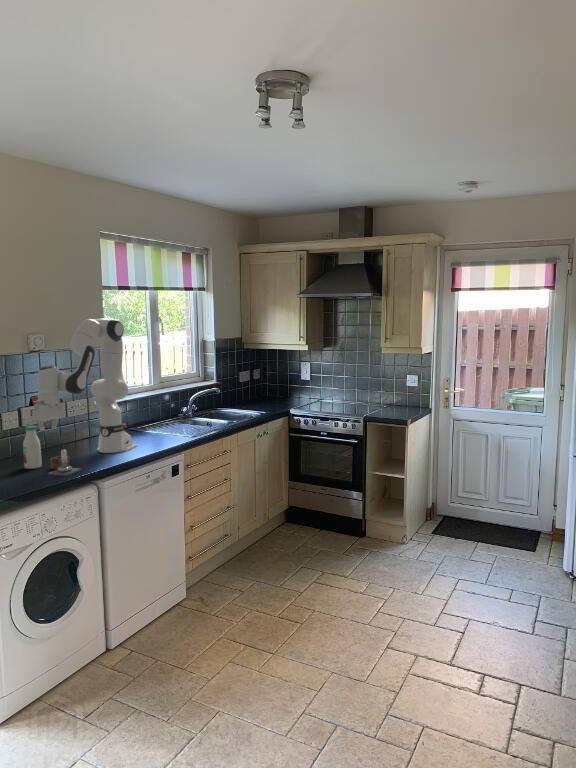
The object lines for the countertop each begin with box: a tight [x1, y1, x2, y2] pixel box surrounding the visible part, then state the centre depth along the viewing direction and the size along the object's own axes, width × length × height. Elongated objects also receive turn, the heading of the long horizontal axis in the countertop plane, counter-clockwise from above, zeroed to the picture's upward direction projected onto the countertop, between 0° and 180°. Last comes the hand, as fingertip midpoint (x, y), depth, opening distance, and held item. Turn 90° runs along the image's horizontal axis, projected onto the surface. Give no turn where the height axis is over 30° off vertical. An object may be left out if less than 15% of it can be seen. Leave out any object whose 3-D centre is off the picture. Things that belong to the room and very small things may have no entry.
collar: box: [49, 455, 71, 470], centre depth 273 cm, size 6×6×5 cm
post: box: [48, 449, 82, 477], centre depth 263 cm, size 10×10×10 cm
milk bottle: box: [22, 425, 43, 470], centre depth 275 cm, size 8×8×20 cm
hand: (48, 429), depth 269 cm, fingers open, 8 cm apart
